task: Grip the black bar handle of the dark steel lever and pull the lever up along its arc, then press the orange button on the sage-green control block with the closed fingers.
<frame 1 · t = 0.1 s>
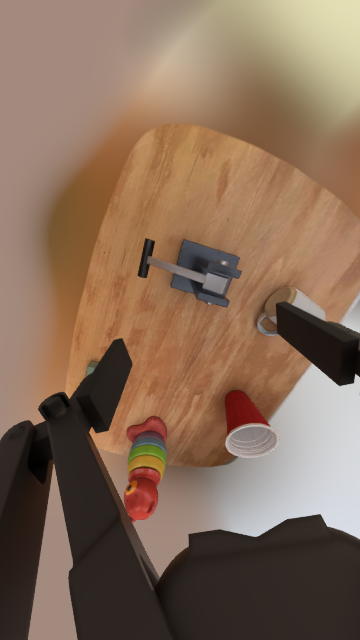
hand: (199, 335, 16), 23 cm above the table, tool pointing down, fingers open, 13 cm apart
plastic cup: (235, 398, 49), on the table
stacking bear: (150, 432, 53), on the table
bracket: (203, 271, 37), on the table
lever: (181, 271, 27), point 10 cm above the table, hinge at -20.0°
ceramic mug: (277, 311, 40), on the table
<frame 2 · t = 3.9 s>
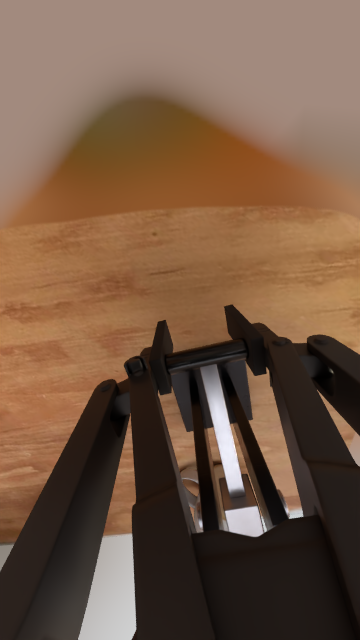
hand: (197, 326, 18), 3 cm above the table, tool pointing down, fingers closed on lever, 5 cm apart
bracket: (210, 388, 24), on the table
lever: (224, 438, 13), point 10 cm above the table, hinge at -20.0°, touching gripper
ceramic mug: (209, 475, 31), on the table
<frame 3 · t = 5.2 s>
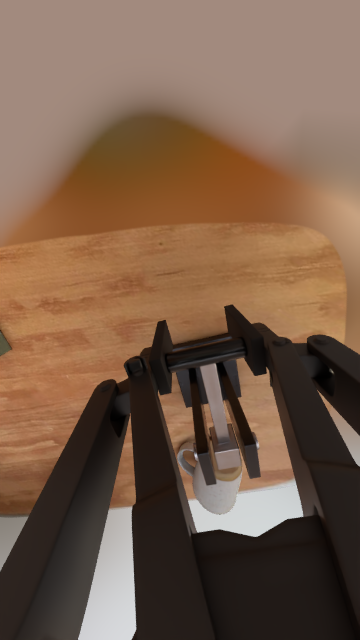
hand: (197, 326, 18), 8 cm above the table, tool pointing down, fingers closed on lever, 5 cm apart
bracket: (206, 369, 29), on the table
lever: (217, 410, 16), point 12 cm above the table, hinge at 5.0°, touching gripper
ceramic mug: (206, 449, 36), on the table
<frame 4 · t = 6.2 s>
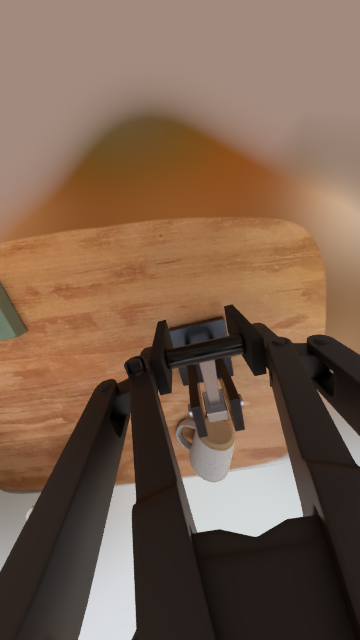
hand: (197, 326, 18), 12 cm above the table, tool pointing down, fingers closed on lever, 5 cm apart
bracket: (201, 351, 32), on the table
lever: (211, 386, 17), point 14 cm above the table, hinge at 24.7°, touching gripper
ceramic mug: (202, 427, 39), on the table
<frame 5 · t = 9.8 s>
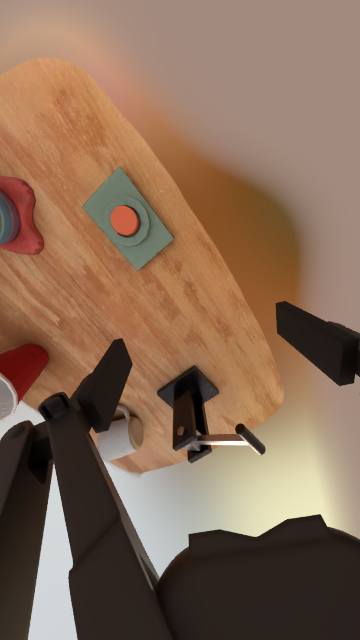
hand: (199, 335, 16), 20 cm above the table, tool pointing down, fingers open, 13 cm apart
plastic cup: (34, 354, 40), on the table
stacking bear: (9, 218, 30), on the table
bracket: (187, 390, 44), on the table
control block: (132, 224, 31), on the table
lever: (216, 439, 29), point 14 cm above the table, hinge at 25.0°
ceramic mug: (122, 418, 47), on the table
button: (125, 221, 27), point 4 cm above the table, slide at 0.1 cm
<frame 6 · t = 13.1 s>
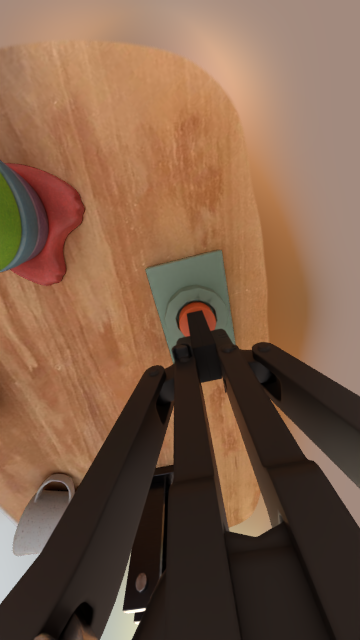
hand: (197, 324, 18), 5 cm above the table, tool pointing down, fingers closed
stacking bear: (28, 223, 20), on the table
bracket: (157, 483, 36), on the table
control block: (193, 308, 23), on the table
ceramic mug: (62, 488, 36), on the table
button: (196, 320, 19), point 4 cm above the table, slide at 0.0 cm, touching gripper
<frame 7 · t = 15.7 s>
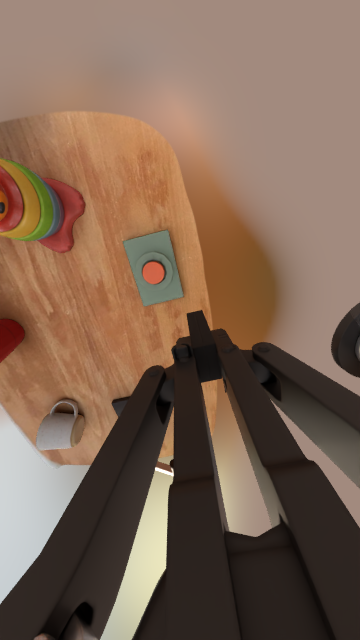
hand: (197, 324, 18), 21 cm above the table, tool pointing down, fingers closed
plastic cup: (11, 329, 40), on the table
stacking bear: (50, 213, 32), on the table
control block: (156, 269, 36), on the table
lever: (150, 463, 36), point 14 cm above the table, hinge at 25.0°
ceramic mug: (68, 413, 49), on the table
button: (153, 272, 32), point 4 cm above the table, slide at 0.1 cm
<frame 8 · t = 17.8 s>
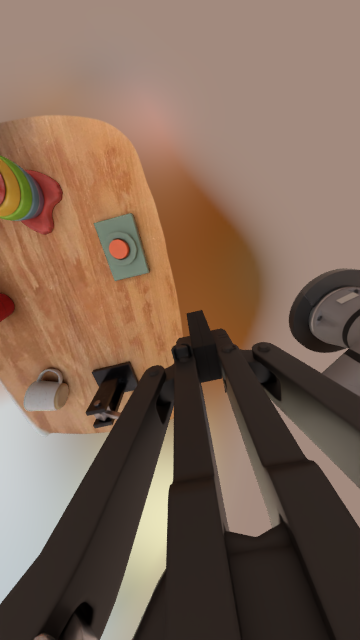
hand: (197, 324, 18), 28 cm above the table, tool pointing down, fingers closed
plastic cup: (2, 303, 46), on the table
stacking bear: (33, 200, 38), on the table
bracket: (117, 378, 55), on the table
control block: (125, 249, 42), on the table
lever: (118, 416, 41), point 14 cm above the table, hinge at 25.0°
ceramic mug: (54, 382, 55), on the table
button: (119, 249, 38), point 4 cm above the table, slide at 0.1 cm
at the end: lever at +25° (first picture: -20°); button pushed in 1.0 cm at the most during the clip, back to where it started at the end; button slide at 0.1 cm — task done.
